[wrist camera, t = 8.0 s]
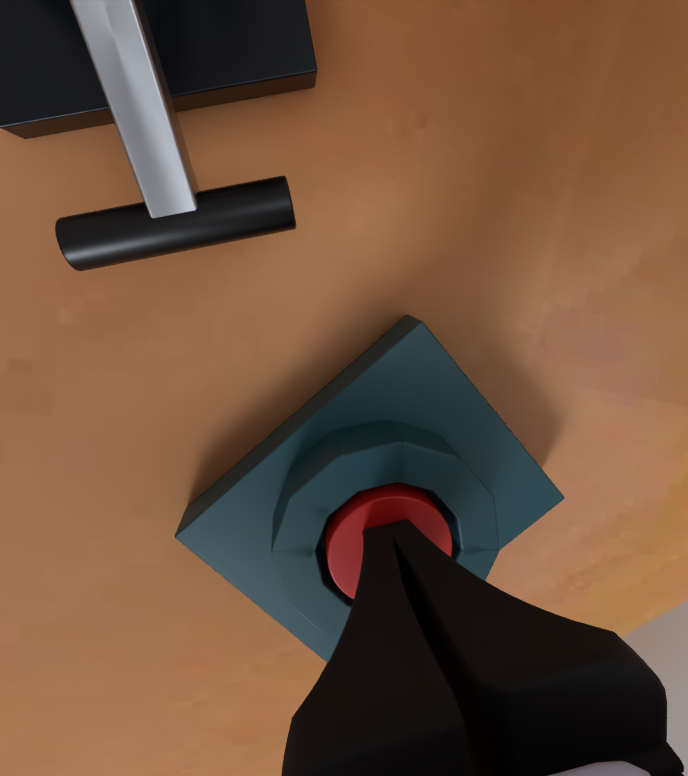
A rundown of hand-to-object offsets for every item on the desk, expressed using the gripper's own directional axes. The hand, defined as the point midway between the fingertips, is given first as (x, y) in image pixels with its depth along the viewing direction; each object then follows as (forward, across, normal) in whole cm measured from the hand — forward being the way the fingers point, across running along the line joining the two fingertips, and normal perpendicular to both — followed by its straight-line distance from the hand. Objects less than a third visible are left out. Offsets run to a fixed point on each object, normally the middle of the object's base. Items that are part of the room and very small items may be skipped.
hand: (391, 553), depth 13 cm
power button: (+2, 0, 0) cm, 2 cm away
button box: (+4, 0, 0) cm, 4 cm away
